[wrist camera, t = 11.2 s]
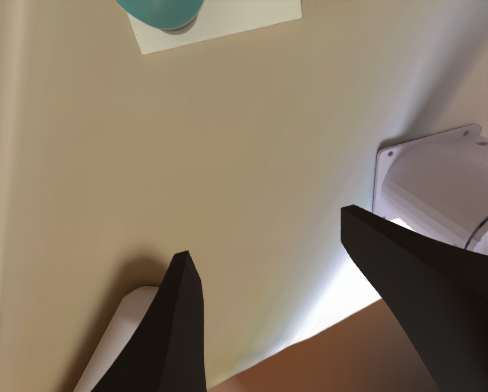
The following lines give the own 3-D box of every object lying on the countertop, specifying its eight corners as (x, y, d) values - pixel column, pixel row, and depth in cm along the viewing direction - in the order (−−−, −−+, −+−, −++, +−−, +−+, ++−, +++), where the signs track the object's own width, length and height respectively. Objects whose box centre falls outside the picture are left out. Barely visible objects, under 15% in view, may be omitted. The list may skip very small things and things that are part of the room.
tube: (110, 305, 20) (36, 449, 29) (169, 335, 21) (79, 468, 29) (141, 265, 25) (70, 398, 34) (188, 290, 26) (107, 415, 34)
